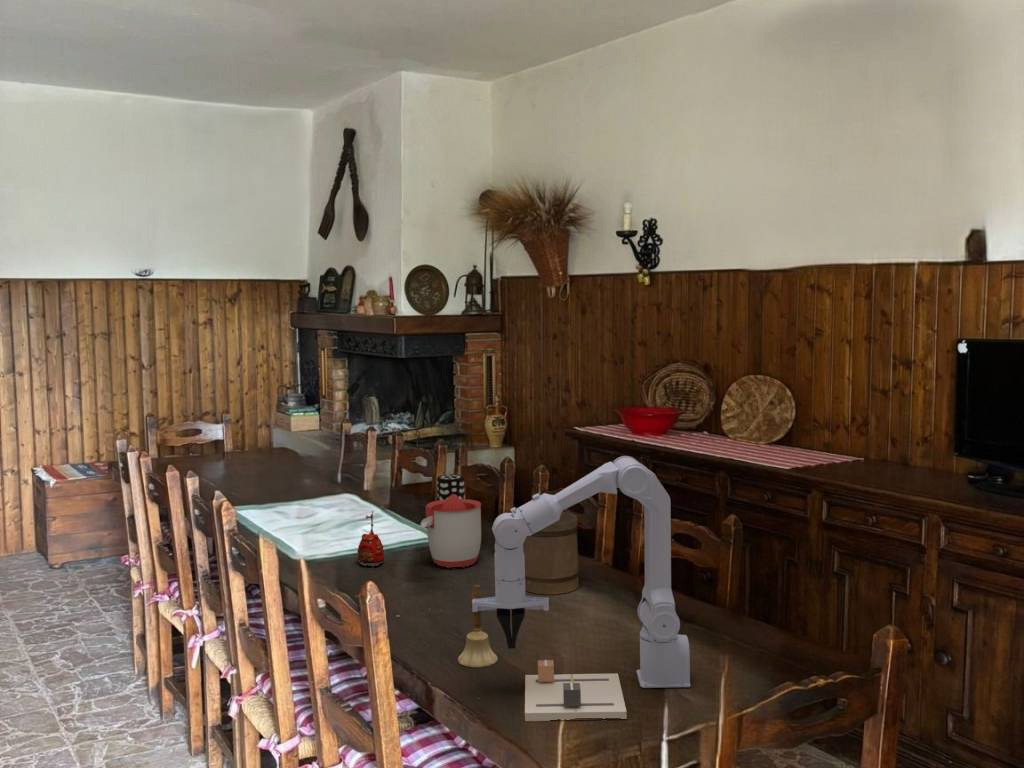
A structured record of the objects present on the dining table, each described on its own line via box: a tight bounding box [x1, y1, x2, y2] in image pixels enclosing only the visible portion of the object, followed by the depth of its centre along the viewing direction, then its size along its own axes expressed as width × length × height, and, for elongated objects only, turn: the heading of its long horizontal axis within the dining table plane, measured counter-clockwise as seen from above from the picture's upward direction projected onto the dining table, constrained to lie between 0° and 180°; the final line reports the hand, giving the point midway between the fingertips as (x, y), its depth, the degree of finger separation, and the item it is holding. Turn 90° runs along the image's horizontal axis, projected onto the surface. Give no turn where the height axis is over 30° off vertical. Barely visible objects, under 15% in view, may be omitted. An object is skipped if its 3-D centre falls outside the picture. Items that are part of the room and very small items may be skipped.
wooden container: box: [523, 511, 580, 596], centre depth 247 cm, size 15×15×22 cm
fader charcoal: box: [563, 683, 581, 706], centre depth 173 cm, size 3×3×3 cm
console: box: [524, 672, 628, 722], centre depth 179 cm, size 18×17×2 cm
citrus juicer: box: [420, 494, 482, 568], centre depth 270 cm, size 16×17×20 cm
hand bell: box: [457, 584, 499, 668], centre depth 199 cm, size 8×8×16 cm
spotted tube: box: [436, 474, 466, 501], centre depth 294 cm, size 8×8×20 cm
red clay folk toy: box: [357, 510, 385, 563], centre depth 271 cm, size 8×7×15 cm
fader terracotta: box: [537, 659, 555, 682], centre depth 184 cm, size 3×3×3 cm
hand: (511, 646), depth 184 cm, fingers closed
